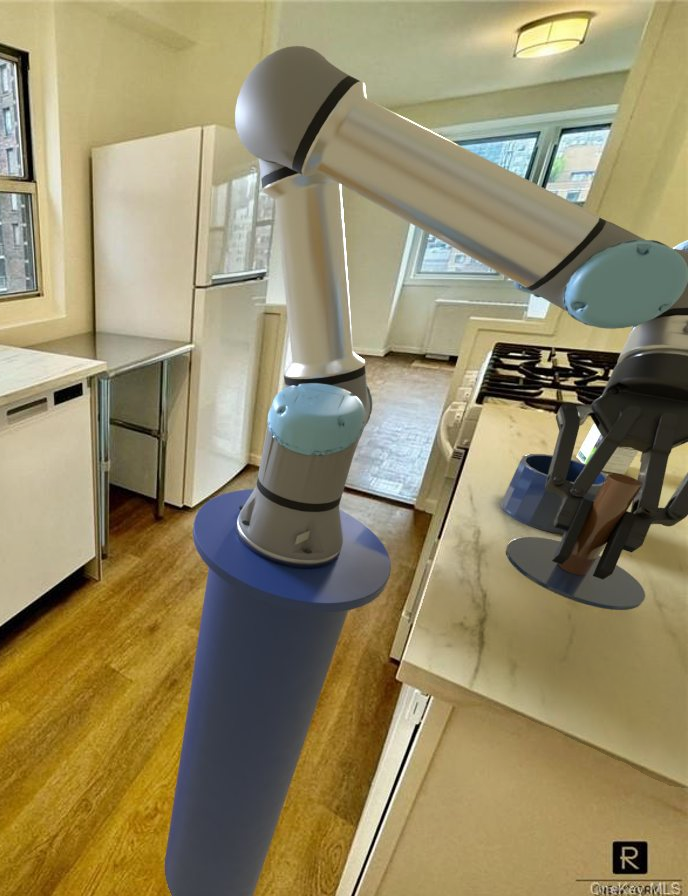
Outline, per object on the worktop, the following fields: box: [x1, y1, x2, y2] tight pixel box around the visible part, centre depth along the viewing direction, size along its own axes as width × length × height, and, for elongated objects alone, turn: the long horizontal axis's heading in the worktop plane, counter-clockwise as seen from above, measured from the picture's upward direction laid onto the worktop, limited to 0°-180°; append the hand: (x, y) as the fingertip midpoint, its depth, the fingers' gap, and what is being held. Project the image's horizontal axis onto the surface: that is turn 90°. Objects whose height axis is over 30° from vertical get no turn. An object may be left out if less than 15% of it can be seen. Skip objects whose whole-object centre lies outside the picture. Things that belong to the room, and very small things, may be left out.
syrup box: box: [576, 422, 639, 475], centre depth 89 cm, size 6×6×14 cm
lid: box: [504, 473, 646, 611], centre depth 49 cm, size 11×11×12 cm
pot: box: [500, 453, 608, 535], centre depth 75 cm, size 10×10×8 cm
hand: (580, 566), depth 48 cm, fingers closed on lid, 2 cm apart
